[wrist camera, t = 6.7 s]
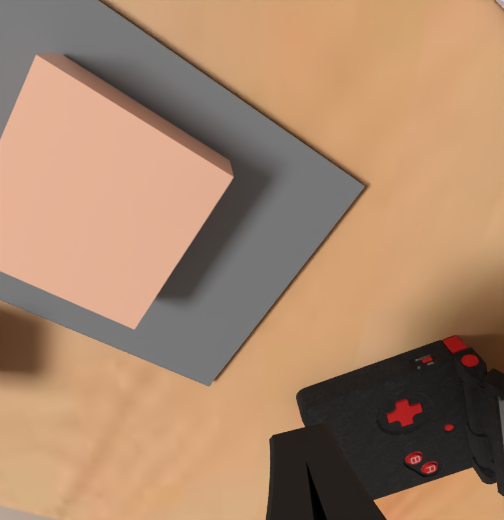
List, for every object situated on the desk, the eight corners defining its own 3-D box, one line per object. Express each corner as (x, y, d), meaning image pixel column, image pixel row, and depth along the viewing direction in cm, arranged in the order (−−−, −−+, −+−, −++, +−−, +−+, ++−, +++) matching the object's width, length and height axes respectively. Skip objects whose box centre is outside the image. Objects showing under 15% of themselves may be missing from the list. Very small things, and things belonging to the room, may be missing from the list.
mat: (361, 183, 17) (364, 186, 17) (208, 380, 21) (208, 386, 21) (16, -58, 13) (10, -61, 12) (-99, 251, 17) (-106, 256, 16)
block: (233, 177, 14) (36, 54, 12) (134, 329, 16) (-47, 250, 14) (229, 159, 16) (60, 52, 14) (142, 297, 18) (-15, 223, 16)
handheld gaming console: (291, 387, 22) (351, 613, 14) (515, 307, 22) (735, 492, 13) (336, 489, 27) (404, 710, 18) (524, 426, 26) (692, 625, 17)
